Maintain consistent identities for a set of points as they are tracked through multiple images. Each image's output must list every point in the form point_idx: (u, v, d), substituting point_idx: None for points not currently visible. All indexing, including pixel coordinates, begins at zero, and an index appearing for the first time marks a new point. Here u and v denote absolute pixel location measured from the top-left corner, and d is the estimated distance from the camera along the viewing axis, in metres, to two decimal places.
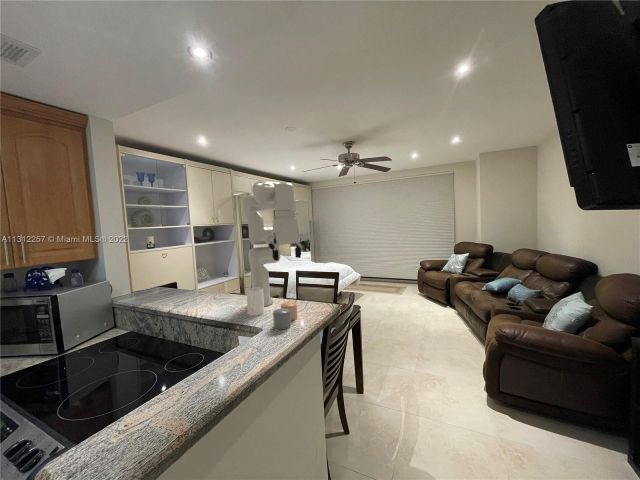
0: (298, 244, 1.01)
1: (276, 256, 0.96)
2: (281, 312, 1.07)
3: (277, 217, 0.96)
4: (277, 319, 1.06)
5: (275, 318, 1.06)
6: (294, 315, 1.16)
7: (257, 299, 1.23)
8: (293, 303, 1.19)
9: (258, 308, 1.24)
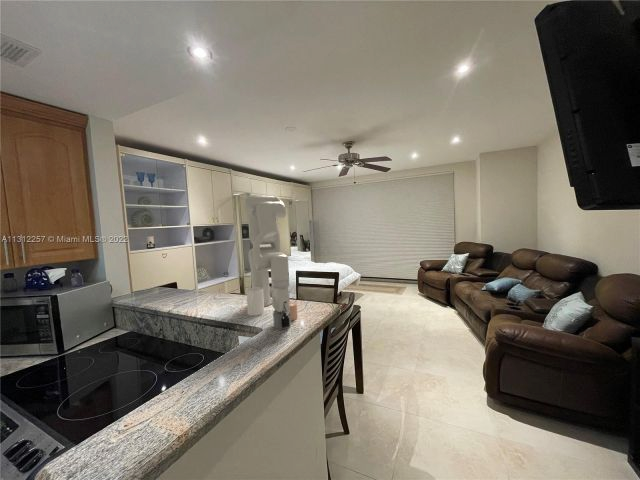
0: None
1: (288, 322, 1.06)
2: None
3: (284, 286, 1.05)
4: (277, 319, 1.06)
5: (275, 318, 1.06)
6: (294, 315, 1.16)
7: (257, 299, 1.23)
8: (293, 303, 1.19)
9: (258, 308, 1.24)
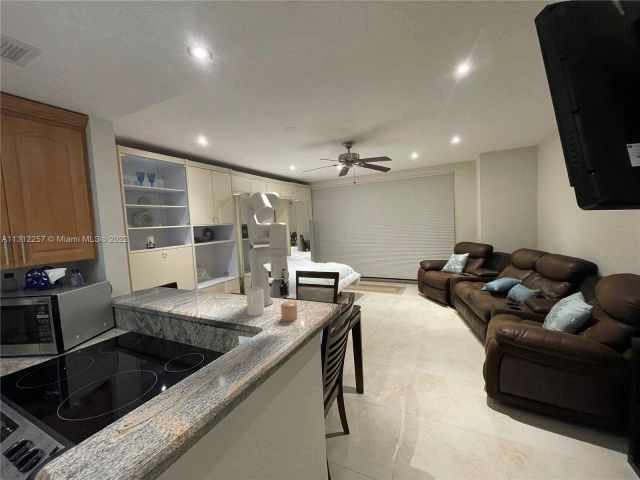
0: None
1: None
2: (279, 281, 1.06)
3: (283, 254, 1.04)
4: (275, 287, 1.05)
5: (273, 287, 1.05)
6: (294, 315, 1.16)
7: (257, 299, 1.23)
8: (293, 303, 1.19)
9: (258, 308, 1.24)
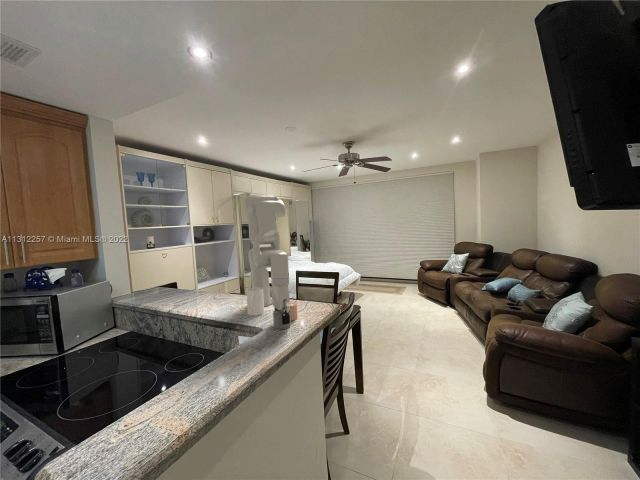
0: None
1: (288, 319, 1.05)
2: (281, 312, 1.07)
3: (284, 284, 1.05)
4: (277, 319, 1.06)
5: (275, 318, 1.06)
6: (294, 315, 1.16)
7: (257, 299, 1.23)
8: (293, 303, 1.19)
9: (258, 308, 1.24)
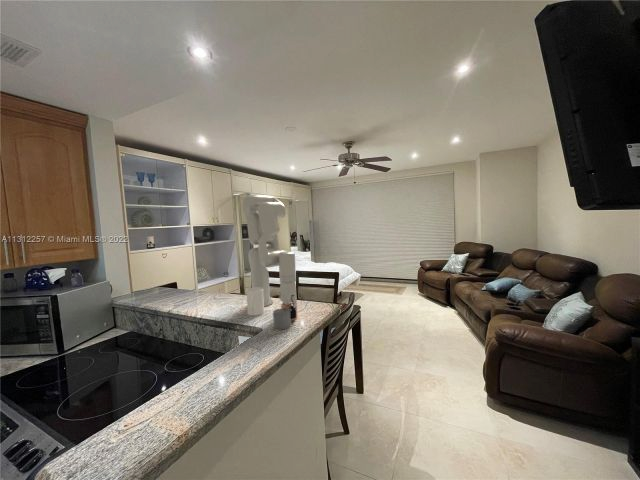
0: None
1: (295, 314, 1.15)
2: (281, 312, 1.07)
3: (292, 281, 1.14)
4: (277, 319, 1.06)
5: (275, 318, 1.06)
6: None
7: (257, 299, 1.23)
8: None
9: (258, 308, 1.24)
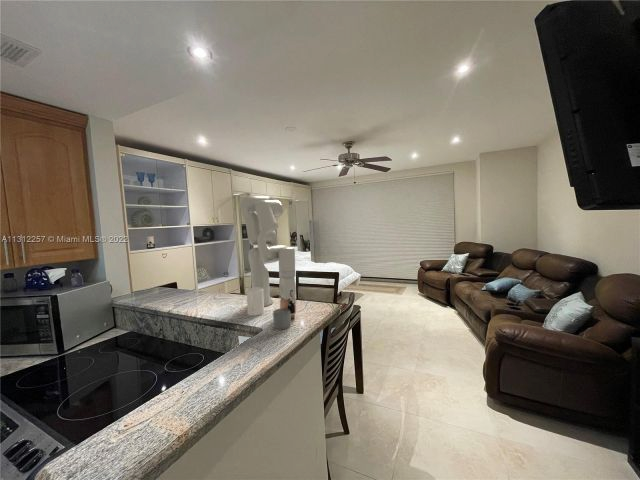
0: None
1: (294, 309, 1.15)
2: (281, 312, 1.07)
3: (291, 276, 1.14)
4: (277, 319, 1.06)
5: (275, 318, 1.06)
6: None
7: (257, 299, 1.23)
8: None
9: (258, 308, 1.24)
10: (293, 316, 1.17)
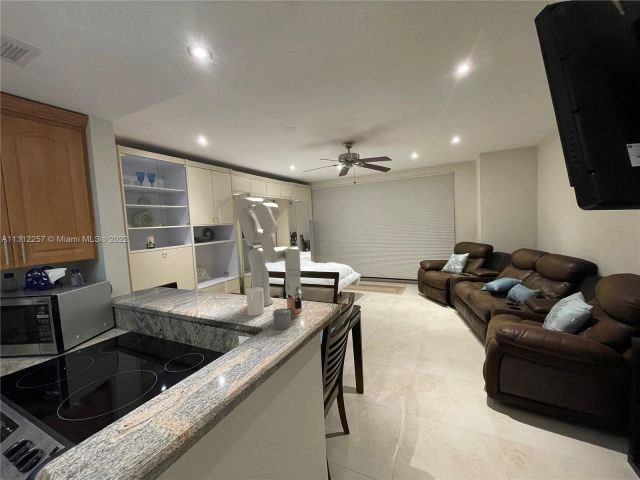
0: None
1: (300, 305, 1.23)
2: (281, 312, 1.07)
3: (297, 274, 1.23)
4: (277, 319, 1.06)
5: (275, 318, 1.06)
6: None
7: (257, 299, 1.23)
8: None
9: (258, 308, 1.24)
10: (293, 317, 1.17)
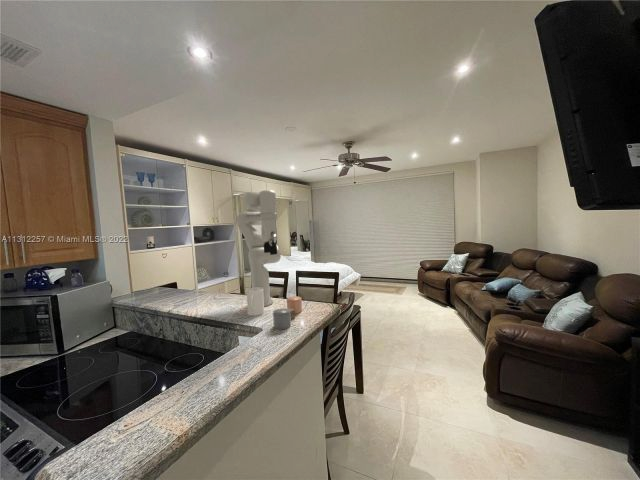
0: None
1: (276, 250, 1.16)
2: (281, 312, 1.07)
3: (272, 218, 1.16)
4: (277, 319, 1.06)
5: (275, 318, 1.06)
6: (299, 308, 1.25)
7: (257, 299, 1.23)
8: (298, 297, 1.28)
9: (258, 308, 1.24)
10: (293, 317, 1.17)
